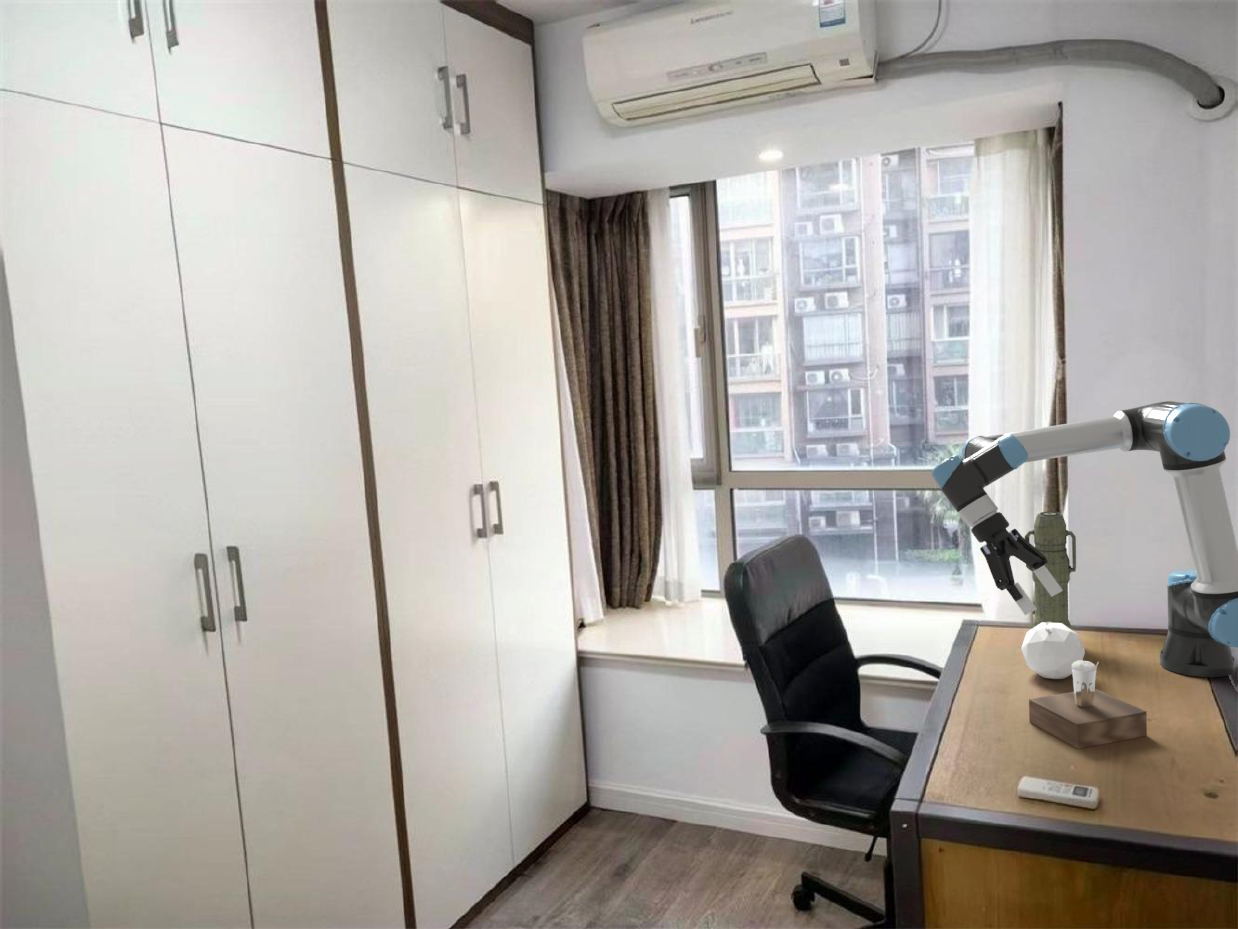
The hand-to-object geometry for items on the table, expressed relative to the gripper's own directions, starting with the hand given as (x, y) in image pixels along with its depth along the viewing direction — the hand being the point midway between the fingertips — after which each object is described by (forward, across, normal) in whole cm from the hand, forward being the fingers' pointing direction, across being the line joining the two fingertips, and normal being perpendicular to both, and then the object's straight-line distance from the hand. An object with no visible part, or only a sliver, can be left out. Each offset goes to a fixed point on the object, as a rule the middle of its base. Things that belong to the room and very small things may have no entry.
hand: (1044, 602), depth 191 cm
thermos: (+13, -41, -28) cm, 51 cm away
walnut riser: (+25, +7, -5) cm, 26 cm away
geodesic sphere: (+17, -18, -20) cm, 32 cm away
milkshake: (+21, +7, -2) cm, 22 cm away
